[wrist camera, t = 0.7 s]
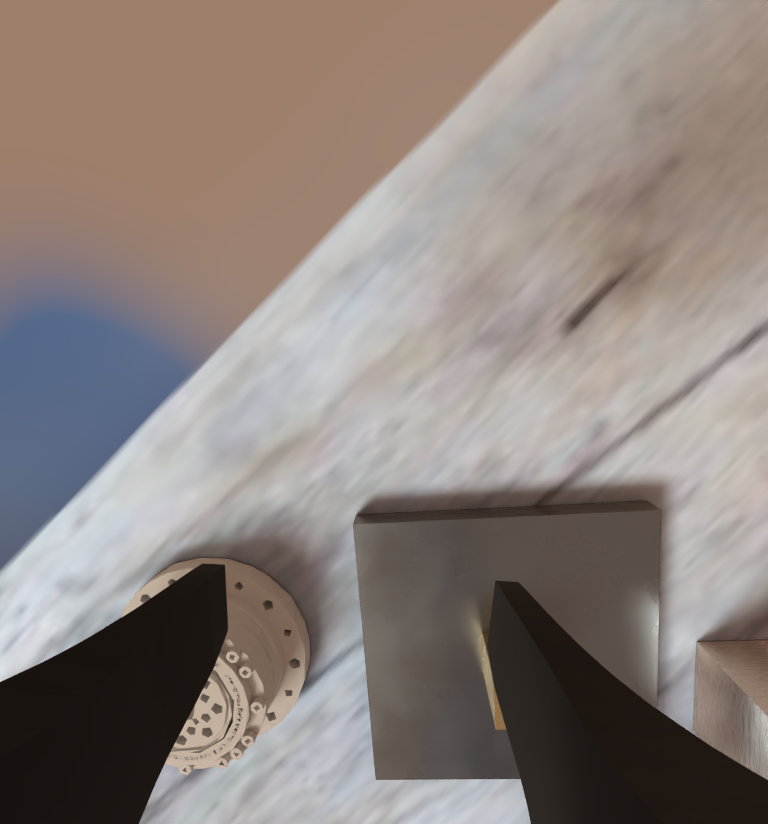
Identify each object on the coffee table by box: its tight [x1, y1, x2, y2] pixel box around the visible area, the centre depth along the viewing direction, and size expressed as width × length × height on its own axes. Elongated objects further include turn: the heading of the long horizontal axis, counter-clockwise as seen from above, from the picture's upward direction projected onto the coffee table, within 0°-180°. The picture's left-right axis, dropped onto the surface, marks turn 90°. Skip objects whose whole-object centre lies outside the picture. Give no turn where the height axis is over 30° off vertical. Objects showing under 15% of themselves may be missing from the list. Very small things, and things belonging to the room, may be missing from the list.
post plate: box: [353, 501, 661, 780], centre depth 21 cm, size 14×14×4 cm
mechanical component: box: [121, 558, 310, 775], centre depth 22 cm, size 10×4×10 cm
